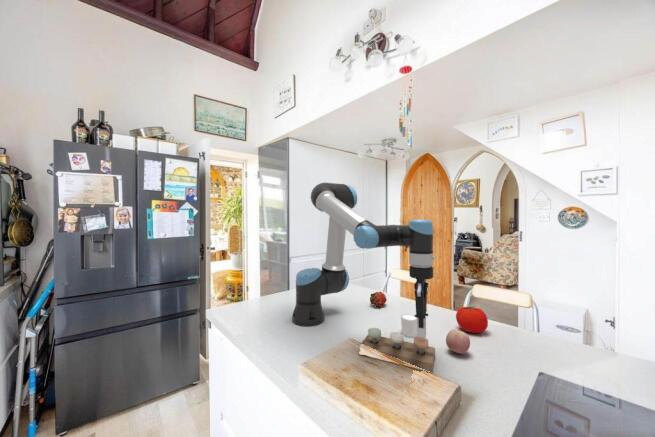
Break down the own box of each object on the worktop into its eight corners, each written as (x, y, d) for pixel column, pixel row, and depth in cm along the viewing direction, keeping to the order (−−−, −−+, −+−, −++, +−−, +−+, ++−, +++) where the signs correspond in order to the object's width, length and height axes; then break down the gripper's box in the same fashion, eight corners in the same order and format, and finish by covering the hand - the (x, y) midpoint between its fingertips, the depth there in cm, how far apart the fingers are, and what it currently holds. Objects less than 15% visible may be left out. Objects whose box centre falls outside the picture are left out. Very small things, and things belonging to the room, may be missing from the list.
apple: (469, 361, 87) (469, 337, 87) (444, 355, 92) (444, 332, 92) (470, 351, 94) (470, 329, 94) (447, 345, 98) (447, 324, 98)
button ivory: (388, 352, 90) (388, 336, 90) (391, 346, 94) (391, 331, 94) (402, 355, 88) (402, 339, 88) (404, 349, 92) (404, 333, 92)
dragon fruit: (371, 312, 138) (381, 309, 147) (384, 304, 134) (393, 302, 143) (363, 297, 141) (374, 295, 151) (376, 289, 138) (385, 288, 147)
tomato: (485, 328, 114) (486, 304, 114) (489, 339, 103) (489, 313, 103) (455, 323, 119) (455, 300, 119) (456, 333, 108) (456, 308, 108)
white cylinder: (418, 331, 110) (418, 315, 110) (418, 338, 104) (418, 321, 104) (401, 329, 113) (401, 313, 112) (400, 336, 106) (400, 319, 106)
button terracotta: (412, 357, 87) (412, 341, 87) (414, 351, 91) (414, 335, 91) (427, 361, 84) (427, 344, 84) (429, 354, 89) (429, 338, 89)
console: (358, 354, 92) (358, 346, 92) (368, 341, 102) (368, 333, 102) (432, 373, 81) (432, 363, 81) (435, 356, 91) (435, 347, 91)
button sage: (366, 347, 94) (366, 331, 94) (370, 341, 98) (370, 326, 98) (379, 349, 92) (379, 334, 92) (382, 344, 96) (382, 329, 96)
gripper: (431, 269, 80) (431, 347, 80) (434, 263, 92) (435, 330, 91) (406, 268, 83) (406, 342, 83) (412, 262, 95) (413, 327, 95)
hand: (421, 336), depth 87 cm, fingers closed
